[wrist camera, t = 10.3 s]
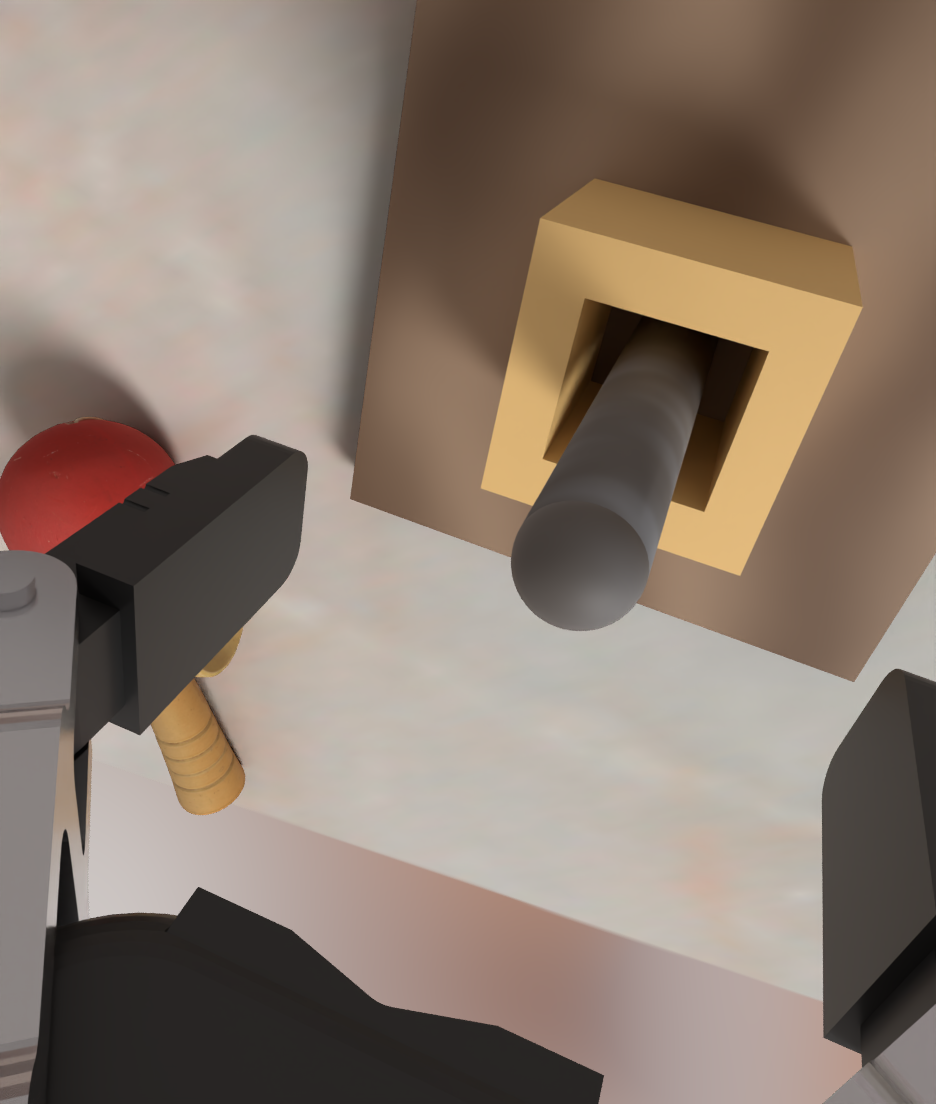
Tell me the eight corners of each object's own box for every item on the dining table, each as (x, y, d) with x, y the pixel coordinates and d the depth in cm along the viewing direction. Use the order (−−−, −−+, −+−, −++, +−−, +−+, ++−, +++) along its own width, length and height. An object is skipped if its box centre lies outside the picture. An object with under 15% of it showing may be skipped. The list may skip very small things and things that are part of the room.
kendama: (332, 758, 39) (216, 406, 28) (241, 875, 35) (62, 515, 23) (205, 707, 42) (57, 375, 31) (109, 807, 38) (-102, 466, 27)
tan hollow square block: (852, 246, 19) (862, 306, 15) (752, 476, 22) (739, 576, 18) (594, 178, 20) (540, 217, 16) (537, 408, 23) (480, 488, 19)
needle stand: (1221, 48, 17) (1992, 102, 6) (852, 650, 26) (880, 1110, 15) (458, -125, 19) (-2, -313, 8) (369, 478, 28) (95, 762, 18)
